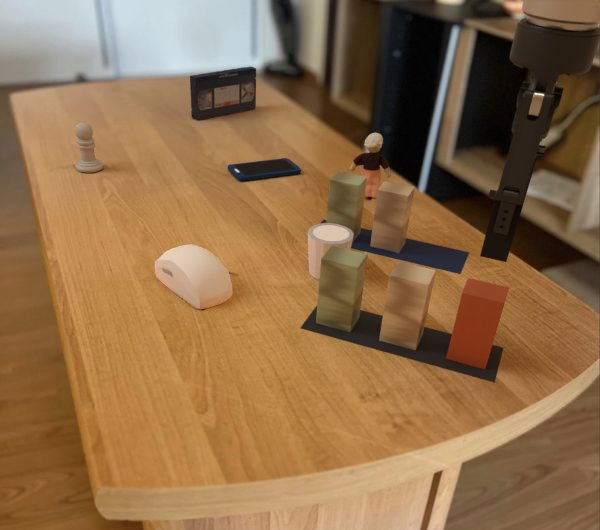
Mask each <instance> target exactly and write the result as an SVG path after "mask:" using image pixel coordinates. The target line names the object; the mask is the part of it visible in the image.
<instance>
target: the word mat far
mask: <svg viewBox="0 0 600 530" xmlns="http://www.w3.org/2000/svg"><path fill="white" fill-rule="evenodd" d="M321 223H326V219H323V220H321V222H319V224H321ZM371 236H372V229H368V228H364V227H361V230H360V234H359V235H358V236H357V238H356V239H355V240H354V242H352V245H351V250H355V251H359V252H363V253H369V254H374V255H377V256H382V257H384V258H389V259H394V260H398V261H401V262H406V263H410V264H414V265H418V266H423V267H427V268H431V269H435V270H436V269H437V270H440V271H444V272H450V273H454V274H458V275H461V274H462V271H463V269H464V267H465V264H466V261H467V259H468V257H469V254H470V252H469V251H465V250H460V249H457V248H451V247H448V246H442V245H438V244H435V243H430V242H426V241H421V240H416V239H412V238H407V237H406V242H405V244H404V246H403V248H402V249H401V251H400V252H399V253H396V252H392V251H388V250H383V249H379V248H375V247H370V244H371ZM306 239H308V236H307V237H306Z"/></svg>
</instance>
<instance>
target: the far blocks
mask: <svg viewBox="0 0 600 530" xmlns="http://www.w3.org/2000/svg"><path fill="white" fill-rule="evenodd" d="M366 180H367V177H363V176H361V175H358V174H354V173H347V172H342V171H337V172H336V173H334V175H333V176H332V177H331V178H330V179H329V185H328V197H327V210H326V218H325V220H326V223H333V224H339V225H342V226H345V227H347V228H349V229H350V230H351V231H352V232H353V233H354V235H353V240H352V242H354V240H355V239H356V238H357V236H358V235H359V234H360V230H361V228H362V221H363V213H364V211H363V210H364V206H365V205H364V204H365V200H364V197H365V189H366ZM415 189H416V188H415V186H411V185H407V184H402V183H397V182H391V181H387V180H384V181H383V182H382V184H380V187H379V189H378V191H377V199H376V202H375V209H374V214H373V222H372V229H371V230H372V236H371V244H370V247H375V248H379V249H383V250H388V251H392V252H396V253H399V252H400V251H401V249H402V248H403V246H404V244H405V242H406V238H407V235H408V229H409V225H410V224H409V223H410V217H411V211H412V206H413V200H414V194H415Z"/></svg>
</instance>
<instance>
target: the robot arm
mask: <svg viewBox="0 0 600 530" xmlns="http://www.w3.org/2000/svg"><path fill="white" fill-rule="evenodd" d="M521 11H522V13H523V14H524V15H525V16H526V17H524V18H521V19H520V20H519V21H518V22H517V23H516V28H515V32H514V35H513V40H512V44H511V48H510V51H509V60H510V62H511V64H513V65H514V66H516V67H518V68H520V69H522V70H525V69H526V70H530V71H531V72H532V76H531V79H530V82H528V81H523V82H522V83H521V84H522V85H521V86H520V87H519V91H518V95H517V98H516V104H515V106H516V111H515V114H514V117H513V120H512V125H511V133H512V134H513V135H512V138H511V141H510V146H509V149H508V153H507V157H506V160H505V163H504V167H503V170H502V174H501V177H500V180H499V184H498V188H497V189H496V190H495V189H490V190H489V193H488V199H492V200H493V206H492V208H491V213H490V217H489V220H488V223H487V228H486V232H485V236H484V239H483V243H482V247H481V250H480V254H479V256H480V257H482V258H486V259H489V260H490V259H491V260H495V261H500V262H504V263H507V262H508V258H509V254H510V252H511V247H512V244H513V241H514V238H515V234H516V230H517V227H518V224H519V220H520V217H521V213H522V210H523V208H524V204H525V199H526V197H527V193H528V190H529V186H530V183H531V181H532V177H533V174H534V171H535V166H536V162H537V159H538V156H540V157H544V154H545V151H546V148H547V146H546V145H543V144H541V142H542V141H543V140H544V139H546V138H547V137H548V135H549V131H550V127H551V125H552V121H553V118H554V116H555V114H557V113H558V110H559V107H560V105H561V101H562V97H563V93H564V90H565V89H564V87H561V86H557V84H558V82H559V78H560V76H564V75H566V76H569V77H570V76H571V77H572V76H581V75H583V74H586V73H588V72H589V71H590V70H591V68H592V65H593V64H594V63H593V62H594V59H595V56H596V52H597V50H598V47H599V43H600V28H599V27H598V26H599V25H600V0H523V1H522V4H521Z"/></svg>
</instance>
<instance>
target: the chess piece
mask: <svg viewBox="0 0 600 530" xmlns="http://www.w3.org/2000/svg"><path fill="white" fill-rule="evenodd" d="M74 133H75V136H76V138H77V139H76V143H77V145H76V146H77V148H78V149H79V154H80V159H79V160H78V161H77V162H76V163H75V170H77V171H78V172H81V173H86V174H89V173H97V172H100V171H101V170H103V168H104V163H103V162H102V161H101V160H99V159H97V158H96V153H95V147H96V144H95V139H94V138H93V136H94V130H93V128H92V126H91V125H90V124H89V123H88V122H79V123H77V124H76V125H75V128H74Z"/></svg>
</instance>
